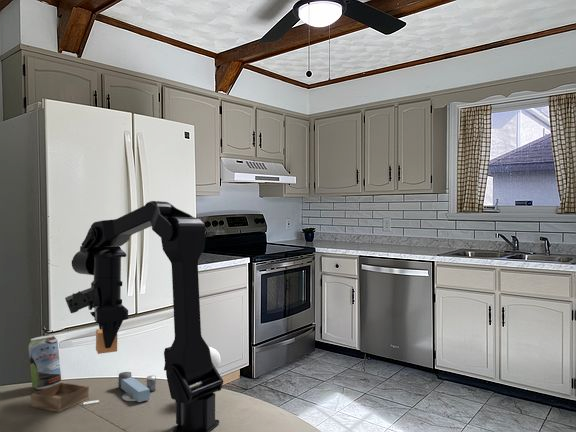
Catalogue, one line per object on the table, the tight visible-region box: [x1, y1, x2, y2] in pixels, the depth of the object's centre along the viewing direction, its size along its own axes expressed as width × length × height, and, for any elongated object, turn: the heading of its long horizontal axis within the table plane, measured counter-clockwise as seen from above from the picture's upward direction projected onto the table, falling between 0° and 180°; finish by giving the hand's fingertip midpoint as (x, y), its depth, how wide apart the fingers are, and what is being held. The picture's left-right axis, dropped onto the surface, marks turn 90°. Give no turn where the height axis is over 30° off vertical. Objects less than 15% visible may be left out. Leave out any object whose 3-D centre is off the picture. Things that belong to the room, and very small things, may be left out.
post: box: [146, 375, 157, 393], centre depth 102 cm, size 2×2×3 cm
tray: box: [30, 381, 90, 413], centre depth 95 cm, size 8×8×3 cm
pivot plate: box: [121, 392, 138, 402], centre depth 98 cm, size 6×6×1 cm
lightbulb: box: [199, 346, 222, 384], centre depth 98 cm, size 6×6×11 cm
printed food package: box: [28, 334, 62, 390], centre depth 104 cm, size 6×7×12 cm
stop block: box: [95, 328, 118, 355], centre depth 100 cm, size 4×4×4 cm
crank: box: [117, 371, 151, 403], centre depth 100 cm, size 13×3×3 cm, turn 40°
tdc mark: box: [83, 399, 100, 406], centre depth 94 cm, size 3×1×1 cm, turn 115°
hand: (106, 345), depth 100 cm, fingers closed on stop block, 4 cm apart
